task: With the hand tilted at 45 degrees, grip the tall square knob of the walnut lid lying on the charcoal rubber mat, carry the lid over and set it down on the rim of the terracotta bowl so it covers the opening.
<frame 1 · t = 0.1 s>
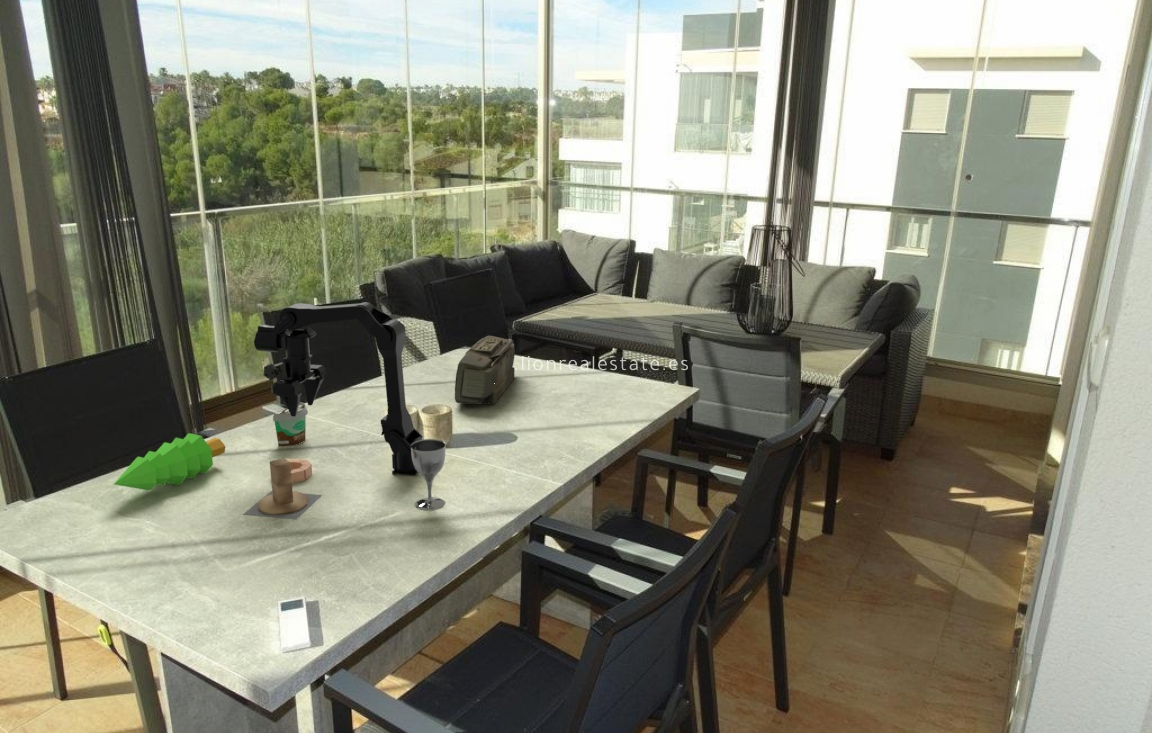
hand: (302, 410, 208), 15 cm above the table, tool pointing down, fingers open, 9 cm apart
terracotta bowl: (292, 477, 202), on the table
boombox: (487, 391, 276), on the table
walnut lid: (283, 504, 186), point 1 cm above the table, touching rubber mat
wine glass: (430, 504, 189), on the table
rubber mat: (283, 506, 186), on the table
food container: (297, 441, 226), on the table
decorative tree: (170, 484, 197), on the table
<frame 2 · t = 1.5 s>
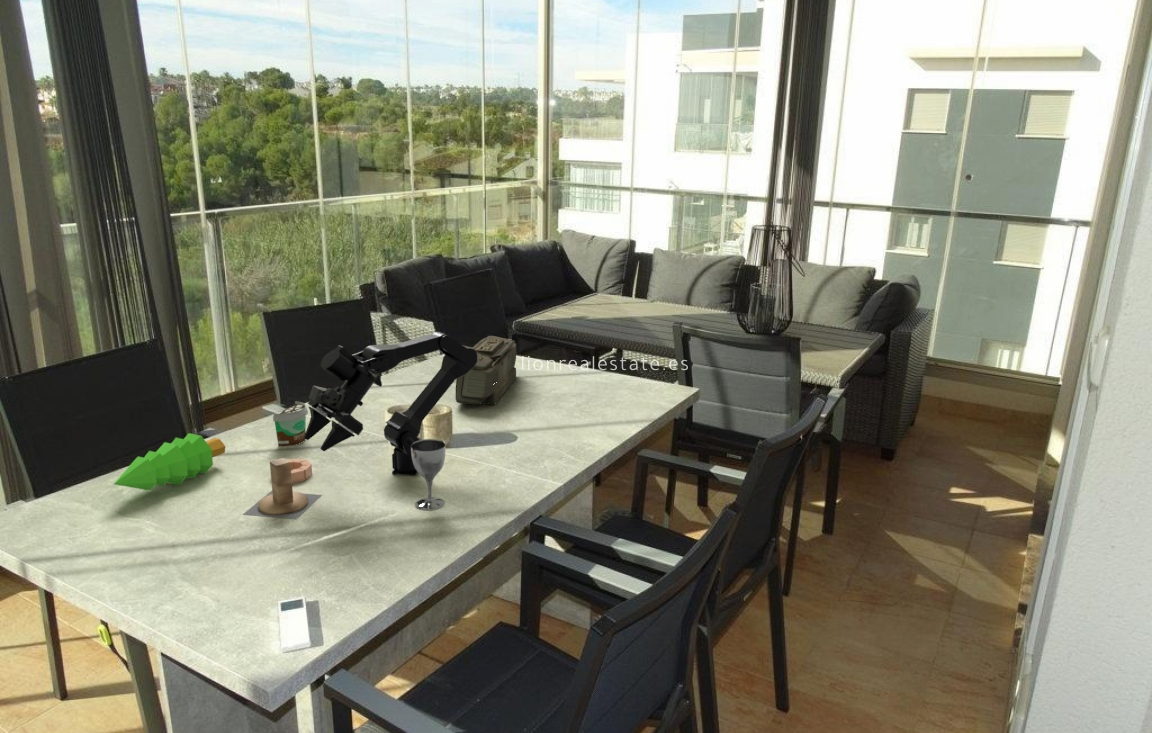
hand: (313, 444, 188), 13 cm above the table, tool tilted 45°, fingers open, 9 cm apart
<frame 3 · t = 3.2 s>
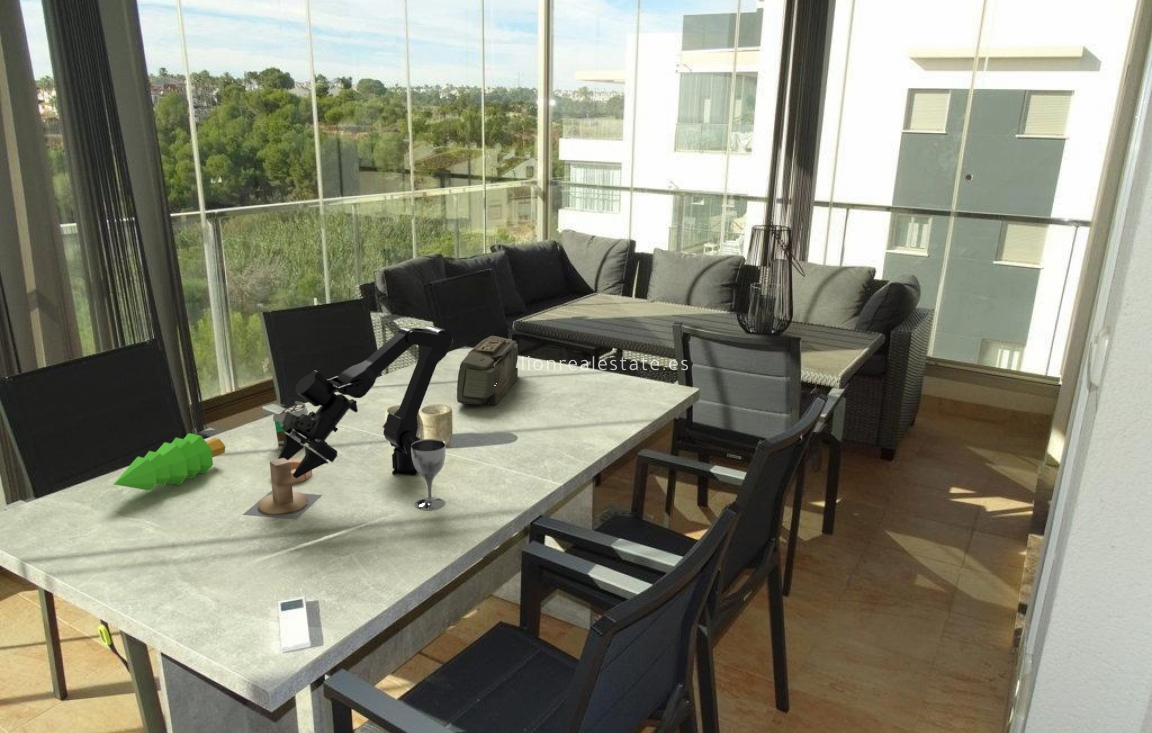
hand: (286, 471, 184), 9 cm above the table, tool tilted 45°, fingers open, 9 cm apart
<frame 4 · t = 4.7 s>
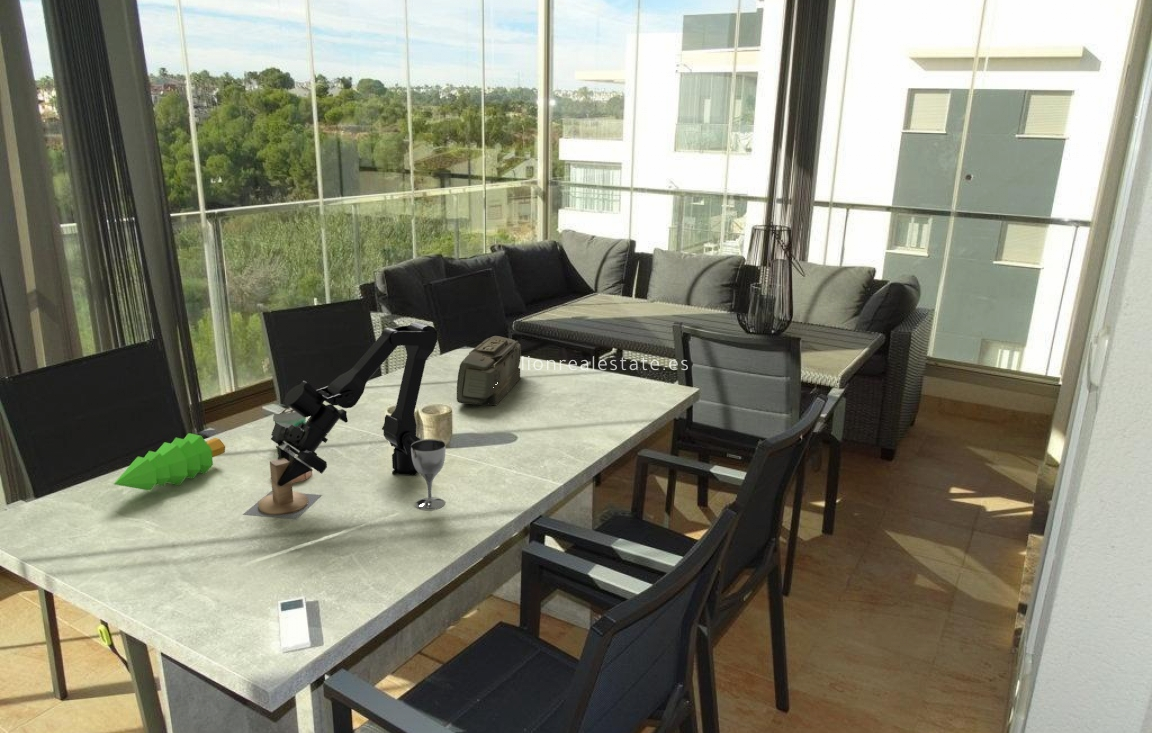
hand: (275, 482, 183), 7 cm above the table, tool tilted 45°, fingers closed on walnut lid, 3 cm apart
walnut lid: (283, 504, 186), point 1 cm above the table, touching gripper, rubber mat
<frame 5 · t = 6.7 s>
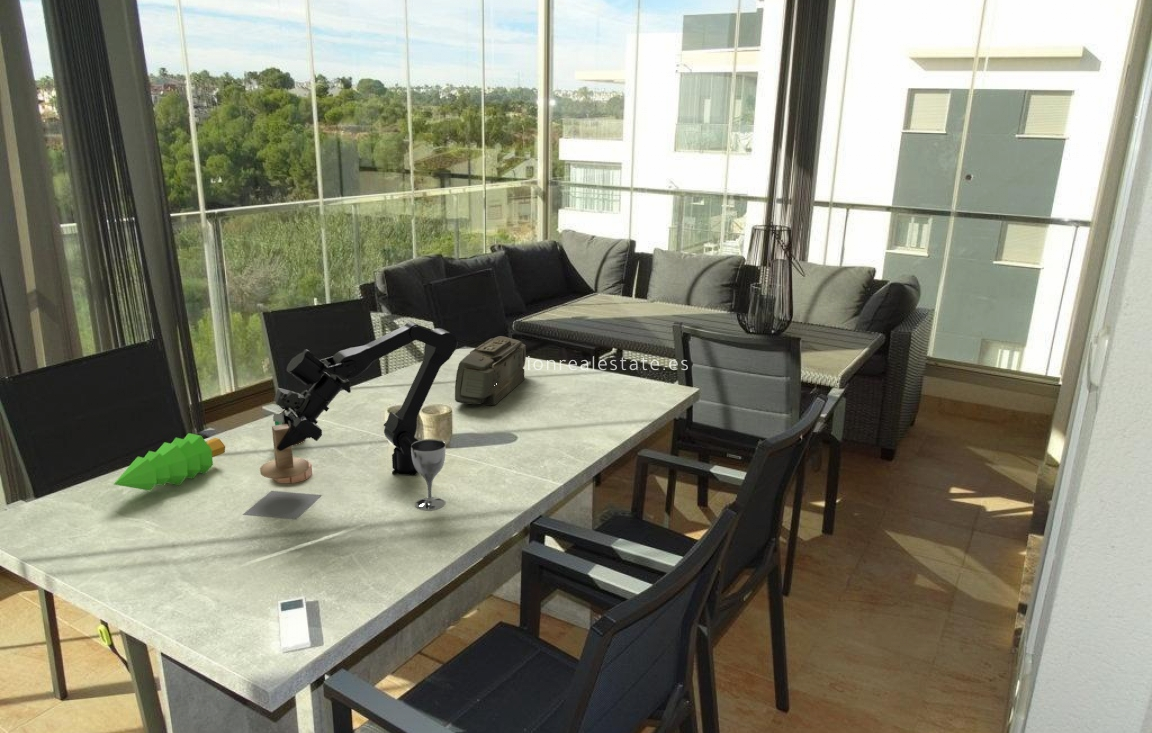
hand: (276, 447, 188), 13 cm above the table, tool tilted 45°, fingers closed on walnut lid, 3 cm apart
walnut lid: (284, 469, 190), point 7 cm above the table, touching gripper
when the fingers open (10 cm above the table, at t = 8.8 s): walnut lid drops 1 cm, resting on terracotta bowl.
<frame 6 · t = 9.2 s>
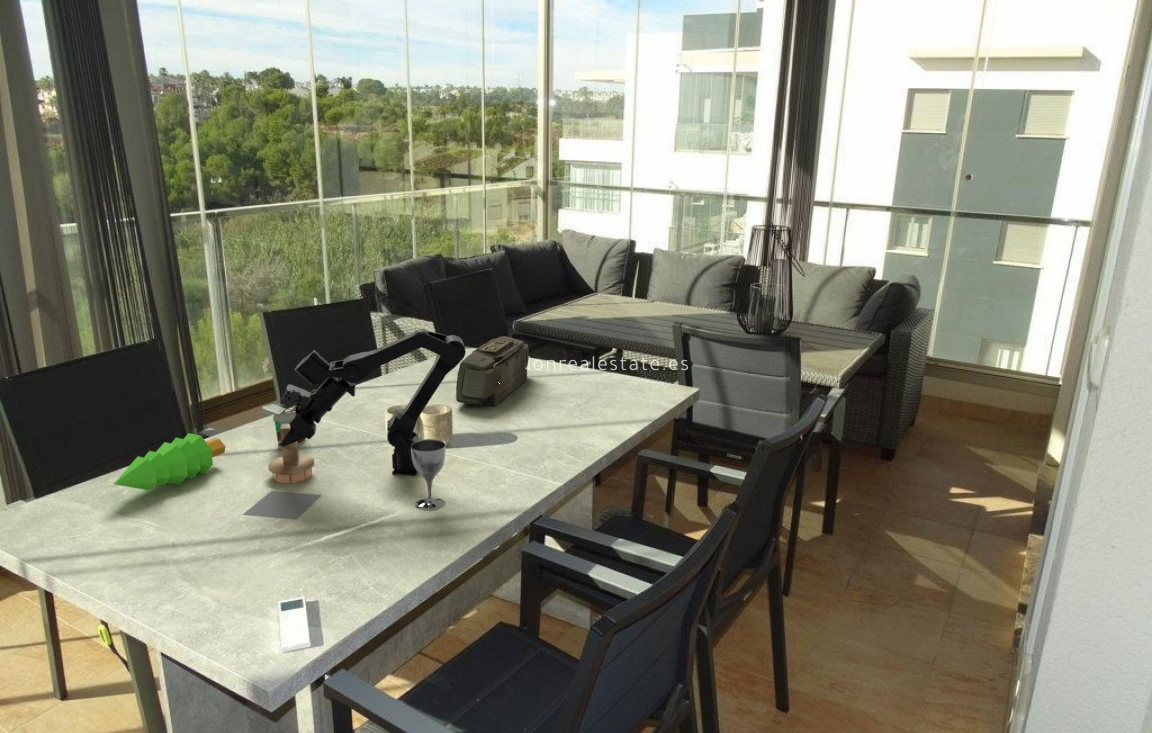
hand: (283, 439, 199), 10 cm above the table, tool tilted 45°, fingers open, 7 cm apart
walnut lid: (291, 465, 201), point 3 cm above the table, touching terracotta bowl
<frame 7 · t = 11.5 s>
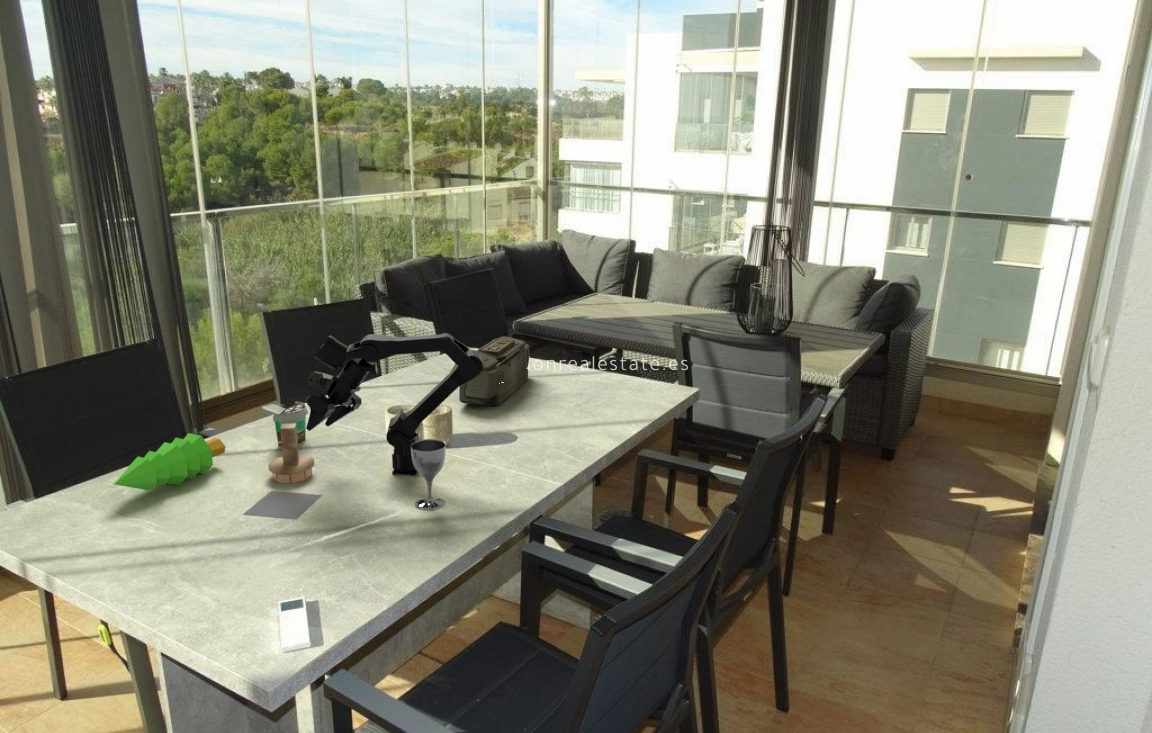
hand: (317, 427, 202), 13 cm above the table, tool tilted 35°, fingers open, 9 cm apart
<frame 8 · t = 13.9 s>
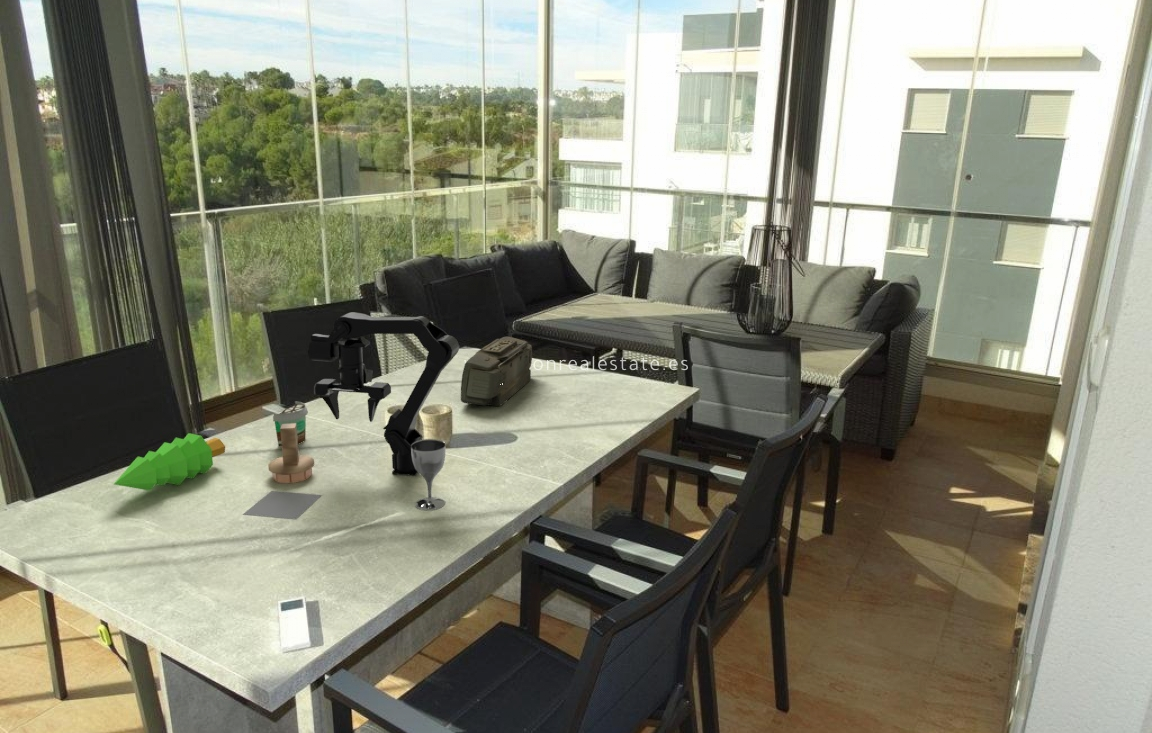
hand: (354, 420, 206), 13 cm above the table, tool pointing down, fingers open, 9 cm apart
at the end: walnut lid 0.0 cm from the terracotta bowl (horizontally); walnut lid point 3.2 cm above the table; walnut lid tilted 0° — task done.
